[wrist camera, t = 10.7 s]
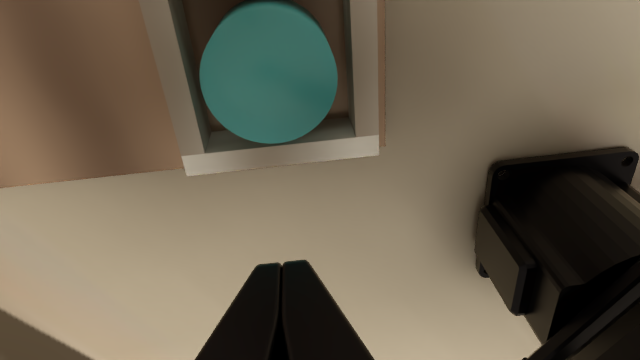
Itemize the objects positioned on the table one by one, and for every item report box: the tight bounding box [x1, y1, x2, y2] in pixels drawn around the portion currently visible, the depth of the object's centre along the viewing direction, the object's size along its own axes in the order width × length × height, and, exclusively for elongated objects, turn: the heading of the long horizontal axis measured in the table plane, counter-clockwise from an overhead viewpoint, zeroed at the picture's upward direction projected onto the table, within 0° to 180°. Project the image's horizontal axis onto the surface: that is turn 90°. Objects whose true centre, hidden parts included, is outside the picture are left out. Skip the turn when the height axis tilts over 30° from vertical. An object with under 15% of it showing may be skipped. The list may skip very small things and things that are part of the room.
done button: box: [200, 0, 338, 144], centre depth 14 cm, size 4×4×2 cm
